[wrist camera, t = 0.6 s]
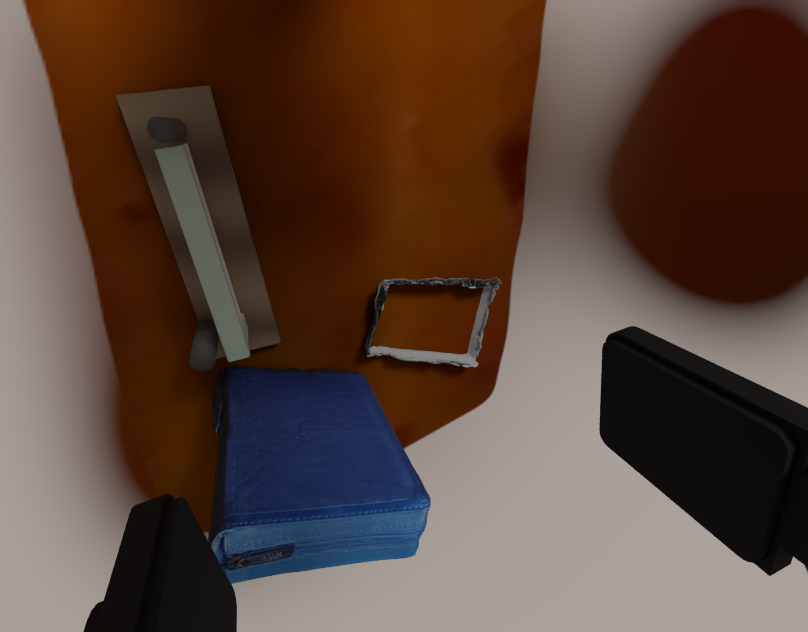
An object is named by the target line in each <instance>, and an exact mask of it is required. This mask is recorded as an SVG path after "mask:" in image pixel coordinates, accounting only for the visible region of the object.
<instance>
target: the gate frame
mask: <svg viewBox="0 0 808 632" xmlns="http://www.w3.org/2000/svg"><path fill="white" fill-rule="evenodd" d="M116 98H117V101H118V103H119V106H120V109H121V111H122V114H123V117H124V120H125V122H126V125H127V128H128V131H129V133H130V136H131V139H132V141H133V144H134V147H135V150H136V152H137V155H138V158H139V161H140V163H141V166H142V169H143V171H144V174H145V177H146V180H147V182H148V185H149V188H150V191H151V193H152V196H153V199H154V201H155V204H156V207H157V210H158V212H159V215H160V218H161V221H162V223H163V226H164V229H165V232H166V234H167V237H168V240H169V242H170V245H171V248H172V251H173V253H174V256H175V259H176V262H177V264H178V267H179V270H180V272H181V275H182V278H183V281H184V283H185V286H186V289H187V292H188V294H189V297H190V300H191V302H192V305H193V308H194V311H195V313H196V316H197V319H198V322H197V326H196V331H195V335H194V340H193V344H192V349H191V353H190V358H189V363H190V365H191V367H192V368H194V369H195V370H198V371H207V370H209V369H211V368H212V367H213V366H214V365H215V363H216V359H218V358H222V357H226V354H225V351H224V348H223V345H222V342H221V339H220V337H219V334H218V331H217V328H216V325H215V322H214V319H213V316H212V314H211V311H210V308H209V305H208V302H207V299H206V296H205V293H204V291H203V288H202V285H201V282H200V279H199V276H198V273H197V271H196V268H195V265H194V262H193V259H192V256H191V253H190V250H189V248H188V245H187V242H186V239H185V236H184V233H183V230H182V227H181V225H180V222H179V219H178V216H177V213H176V210H175V207H174V205H173V202H172V199H171V196H170V193H169V190H168V187H167V184H166V182H165V179H164V176H163V173H162V170H161V167H160V164H159V161H158V159H157V156H156V153H155V149H161V148H165V147H169V146H172V145H180V144H188V147H189V150H190V153H191V157H192V160H193V163H194V166H195V169H196V172H197V176H198V179H199V182H200V185H201V188H202V192H203V195H204V198H205V201H206V204H207V207H208V211H209V214H210V217H211V220H212V223H213V226H214V230H215V233H216V236H217V239H218V242H219V245H220V249H221V252H222V255H223V258H224V261H225V264H226V268H227V271H228V274H229V277H230V280H231V284H232V287H233V290H234V293H235V296H236V299H237V303H238V306H239V309H240V312H241V313H244V317H245V320H246V323H247V326H248V346H249V350H253V349H257V348H261V347H265V346H269V345H273V344H277V343H281V340H280V335H279V332H278V328H277V325H276V321H275V317H274V314H273V310H272V307H271V303H270V299H269V296H268V292H267V289H266V285H265V281H264V278H263V274H262V271H261V267H260V264H259V260H258V256H257V253H256V249H255V246H254V242H253V238H252V235H251V231H250V228H249V224H248V220H247V217H246V213H245V210H244V206H243V203H242V199H241V195H240V192H239V188H238V185H237V181H236V177H235V174H234V170H233V167H232V163H231V159H230V156H229V152H228V149H227V145H226V141H225V138H224V134H223V131H222V127H221V124H220V120H219V116H218V113H217V109H216V106H215V102H214V98H213V95H212V91H211V88H210V86H209V85H207V86H197V87H188V88H178V89H169V90H160V91H150V92H141V93H131V94H122V95H116Z"/></svg>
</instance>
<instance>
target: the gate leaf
mask: <svg viewBox="0 0 808 632" xmlns="http://www.w3.org/2000/svg"><path fill="white" fill-rule="evenodd" d="M155 153H156V156H157V159H158V161H159V164H160V167H161V170H162V173H163V176H164V179H165V182H166V184H167V187H168V190H169V193H170V196H171V199H172V202H173V205H174V207H175V210H176V213H177V216H178V219H179V222H180V225H181V227H182V230H183V233H184V236H185V239H186V242H187V245H188V248H189V250H190V253H191V256H192V259H193V262H194V265H195V268H196V271H197V273H198V276H199V279H200V282H201V285H202V288H203V291H204V293H205V296H206V299H207V302H208V305H209V308H210V311H211V314H212V316H213V319H214V322H215V325H216V328H217V331H218V334H219V337H220V339H221V342H222V345H223V348H224V351H225V354H226V357H227V360H228V362H232V361H236V360H240V359H244V358H247V357H249V356H250V350H249V346H248V326H247V323H246V320H245V317H244V313H241V312H240V309H239V306H238V303H237V299H236V296H235V293H234V290H233V287H232V284H231V280H230V277H229V274H228V271H227V268H226V264H225V261H224V258H223V255H222V252H221V249H220V245H219V242H218V239H217V236H216V233H215V230H214V226H213V223H212V220H211V217H210V214H209V211H208V207H207V204H206V201H205V198H204V195H203V192H202V188H201V185H200V182H199V179H198V176H197V172H196V169H195V166H194V163H193V160H192V157H191V153H190V150H189V147H188V144H180V145H172V146H169V147H165V148H161V149H155Z"/></svg>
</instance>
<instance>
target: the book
mask: <svg viewBox="0 0 808 632" xmlns="http://www.w3.org/2000/svg"><path fill="white" fill-rule="evenodd" d="M212 414H213V425H214V431H215V432H216V433H218V434H220V436H219V442H218V460H217V468H216V475H215V488H214V496H213V507H212V514H211V527H210V531H209V537H208V539H209V544H210V546H211V548H212V549H213V551H214V553H215V555H216V557H217V559H218V561H219V562H220V564H221V566H222V568H223V570H224V572H225V574H226V575H227V577H228V579H229V581H230V583H231V584H233V583H237V582H242V581H246V580H251V579H256V578H260V577H266V576H272V575H277V574H282V573H289V572H290V573H291V572H299V571H306V570H312V569H319V568H325V567H333V566H339V565H346V564H353V563H361V562H368V561H376V560H386V559H399V558H407V557H411V556H413V555H415V554H416V551H417V548H418V545H419V538H420V536H421V535H422V533H423V531H424V529H425V527H426V521H427V514H428V511H429V508H430V502H431V501H430V497H429V495H428V493H427V492H426V490H425V488H424V486H423V483H422V482H421V479H420V478H419V476H418V474H417V473H416V471H415V469H414V468H413V466H412V464H411V462H410V460H409V458H408V457H407V455H406V453H405V451H404V449H403V448H402V446H401V444H400V441H399V439H398V438H397V436H396V434H395V432H394V430H393V429H392V427H391V425H390V423H389V421H388V419H387V417H386V415H385V413H384V411H383V410H382V408H381V406H380V404H379V402H378V400H377V398H376V396H375V394H374V392H373V390H372V388H371V386H370V384H369V383H368V381H367V379H366V377H365V376H364V375H363V374H361V373H357V372H349V371H345V370H335V371H331V370H327V369H307V370H304V371H302V370H298V369H297V368H291V369H273V368H251V367H248V366H243V367H242V366H232V367H227V368H224V369H222V370H221V371H220V373H219V375H218V378H217V381H216V385H215V389H214V392H213V397H212Z"/></svg>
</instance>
